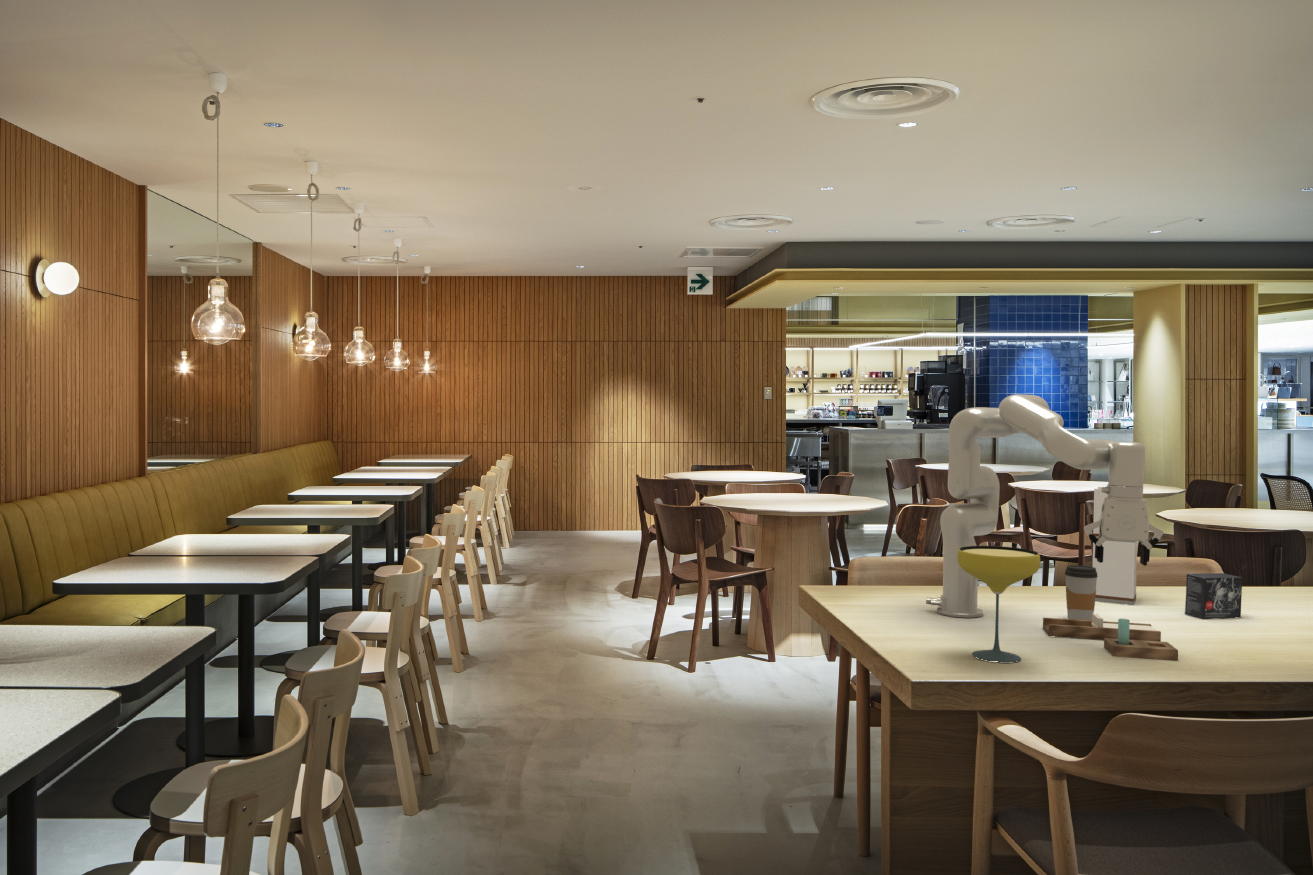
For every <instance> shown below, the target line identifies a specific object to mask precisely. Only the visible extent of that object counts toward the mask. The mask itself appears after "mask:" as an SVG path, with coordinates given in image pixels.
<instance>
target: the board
mask: <svg viewBox="0 0 1313 875" xmlns="http://www.w3.org/2000/svg"><path fill="white" fill-rule="evenodd" d="M1091 622H1092V621H1091V620H1075V619H1069V618H1053V617H1042V630H1043V629H1044V630H1043V632H1045V633H1046V634H1047V636H1048V637H1049V636H1055V637H1054V638H1064V637H1070V638H1069V639H1083V640H1095V641H1096V640H1098V641H1104V638H1112V639H1118V628H1103V627H1092V626H1091ZM1103 623H1112V624H1118V621H1107V620H1105V621H1104V620H1103ZM1129 625H1146V626H1151V627H1152V624H1151V623H1138V622H1129ZM1129 640H1143V641H1159V642H1162V631H1161V630H1156V631H1152V630H1136V629H1129Z"/></svg>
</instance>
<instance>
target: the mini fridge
mask: <svg viewBox="0 0 1313 875" xmlns="http://www.w3.org/2000/svg"><path fill="white" fill-rule="evenodd" d="M1102 487H1103V486H1098V487H1097V488H1094V489H1093V490H1094V491H1093V523H1094V522H1096V521H1099V520H1100V517H1101V511H1102V506H1103V502H1104V498H1105V497H1108V495H1107V494H1106V493H1102V492H1101V488H1102ZM1092 532H1093V535H1094V536H1095V537H1096V538H1097V537H1098V536H1099V535H1100V533H1099V527H1098V528H1095V529H1093V530H1092ZM1102 546H1103V547H1104V553H1103V562H1102V563H1099V562H1098V561H1097V558H1095V544H1094V543H1093V542H1092V567H1094V568H1096V572H1097V576H1098V577H1097V582H1096V596H1095V602H1097V601H1098V602H1099V603H1108V604H1118V605H1125V604H1127V605H1128V606H1134V605H1135V602H1136V601H1137V566H1138V565H1137V561H1138V557H1137V556H1138V541H1124V540H1111V539H1107V540H1106V541H1105V542H1104V543H1103V544H1102Z"/></svg>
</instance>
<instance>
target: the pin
mask: <svg viewBox="0 0 1313 875" xmlns="http://www.w3.org/2000/svg"><path fill="white" fill-rule="evenodd" d="M1117 622H1118V644H1123V645H1129V623H1131V622H1130V619H1128V618H1118V619H1117Z"/></svg>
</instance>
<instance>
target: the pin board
mask: <svg viewBox="0 0 1313 875" xmlns="http://www.w3.org/2000/svg"><path fill="white" fill-rule="evenodd" d="M1103 648H1104V649H1105V650H1106V651H1107V652H1108V653H1109V654H1110V655H1111V656H1112V657H1122V658H1135V659H1138V658H1139V659H1151V660H1164V661H1165V660H1169V661H1178V660H1179V650H1178V649H1177V648H1176V647H1175V646H1174V645H1172V644H1171V643H1169V642H1168V641H1161V642H1159V641H1143V640H1129V645H1123V644H1118V639H1112V638H1104V640H1103Z"/></svg>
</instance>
